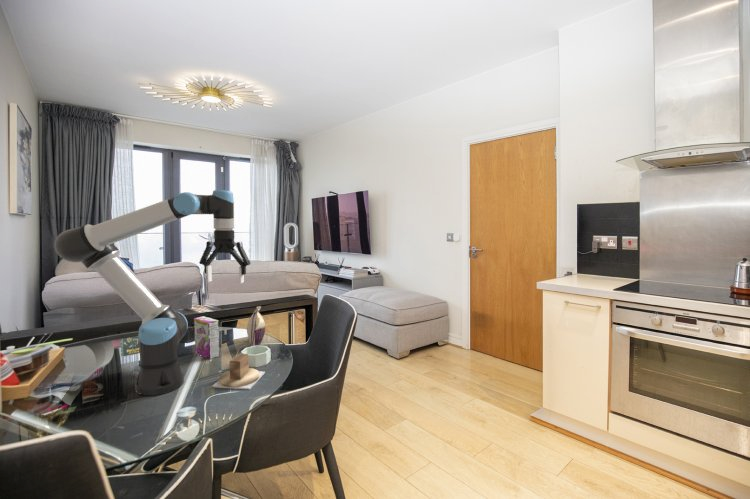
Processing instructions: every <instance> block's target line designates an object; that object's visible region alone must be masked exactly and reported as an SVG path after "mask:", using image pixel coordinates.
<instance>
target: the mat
mask: <svg viewBox="0 0 750 499" xmlns="http://www.w3.org/2000/svg"><path fill="white" fill-rule="evenodd" d="M258 372H259V378H258V380H257V381H255V382H254V383H252V384H249V385H246V386H241V387H226V386H223V385H221V384H220V382H219V379H218V380H217V381H216V382H215V383H214V384H213V385H211V387H212V388H215V389H231V390H232V389H235V390H251V389H252V388H253V387H254V386H255V384H256V383H257V382H258V381H259V380H260V379H261V378H262V377H263V376H264V374H265V373H266V371H265V370H264V371H261V370H258Z"/></svg>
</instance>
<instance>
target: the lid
mask: <svg viewBox="0 0 750 499" xmlns="http://www.w3.org/2000/svg"><path fill="white" fill-rule="evenodd" d="M258 371H259V370H257V369H255V368H254V367H249V362H248V354H241V353H238V354H236V355H235V356H234V357H233V358H231V359H230V360H229V370H227V371H225V372H223V373H222V374H221V375H220V376H219V378H218V380H219V382H220V384H221V385H223V386H226V387H241V386H246V385H249V384H252V383H254V382H255V381H257V380H258V378H259V372H258ZM258 381H259V380H258ZM258 381H257V382H258Z"/></svg>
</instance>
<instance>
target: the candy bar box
mask: <svg viewBox="0 0 750 499" xmlns="http://www.w3.org/2000/svg"><path fill="white" fill-rule="evenodd" d="M193 324H194V328H193V329H194V344H195V345H194V348H195V349H194V350H195V352H194V354H195V353H197V354H199V355H198V356H200V355H201V356H200V357H202V358H205V357H206V358H205V359H208V360H213V359H216V358H218V357H220V333H219V332H220V331H219V330H220V328H219V327H220V326H219V320H218V319H215V318H211V317H207V316H198V317H194V318H193ZM197 354H196V355H197ZM215 357H216V358H215ZM212 358H213V359H212Z"/></svg>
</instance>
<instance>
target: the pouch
mask: <svg viewBox="0 0 750 499" xmlns="http://www.w3.org/2000/svg"><path fill="white" fill-rule="evenodd" d="M261 308H262V306H261V305H258V306H256V309H255V310H254V311H253V313H252V315H251V316H250V318H249V320H248V321H247V326H246V334H247V338H248V341H249V345H250V346H249V347H251V346H256V345H258V346H261V343H262V342H263V339H264V336H265V334H266V323H265V320H264V317H263V316H262V314H261V313H260V310H261Z"/></svg>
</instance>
